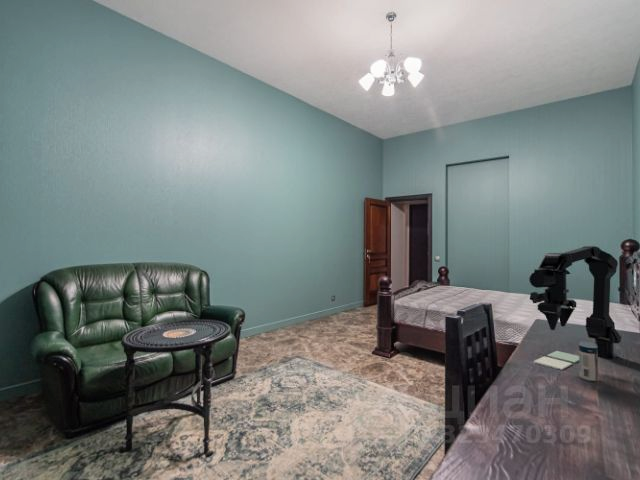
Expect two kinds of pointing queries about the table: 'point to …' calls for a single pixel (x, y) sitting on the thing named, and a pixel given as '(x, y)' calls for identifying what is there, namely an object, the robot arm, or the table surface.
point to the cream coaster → (553, 363)
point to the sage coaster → (564, 356)
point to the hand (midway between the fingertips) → (557, 328)
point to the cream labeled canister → (588, 360)
